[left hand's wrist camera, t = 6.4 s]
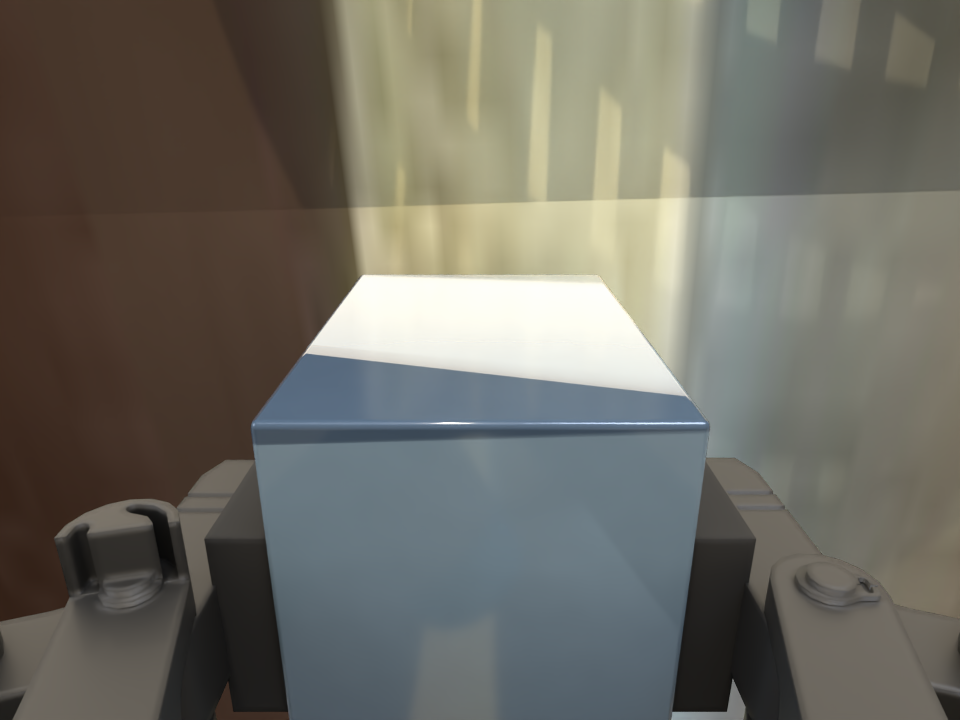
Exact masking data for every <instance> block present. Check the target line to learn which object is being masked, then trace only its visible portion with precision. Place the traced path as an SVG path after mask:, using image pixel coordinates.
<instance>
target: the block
mask: <svg viewBox="0 0 960 720" xmlns="http://www.w3.org/2000/svg"><path fill="white" fill-rule="evenodd" d="M709 432H710V425H709V421H708V420H707V419H706V417H705V416H704V415H703V413H702V412H701V411H700V409H699V408H698V407H697V405H696V404H695V403H694V401H693V400H692V399H691V397H690V396H689V395H688V393H687V392H686V391H685V389H684V388H683V387H682V385H681V384H680V383H679V381H678V380H677V379H676V377H675V376H674V375H673V373H672V372H671V371H670V369H669V368H668V367H667V365H666V364H665V363H664V361H663V360H662V359H661V357H660V356H659V355H658V353H657V352H656V351H655V349H654V348H653V347H652V345H651V344H650V343H649V341H648V340H647V339H646V337H645V336H644V335H643V333H642V332H641V331H640V329H639V328H638V326H637V325H636V324H635V322H634V321H633V320H632V318H631V317H630V316H629V314H628V313H627V312H626V310H625V309H624V308H623V306H622V305H621V304H620V302H619V301H618V300H617V298H616V297H615V296H614V294H613V293H612V292H611V290H610V289H609V288H608V286H607V285H606V284H605V282H604V281H603V280H602V278H601V277H600V276H598V275H362V276H360V277H359V279H358V280H357V282H356V283H355V284H354V286H353V287H352V288H351V290H350V291H349V292H348V294H347V295H346V296H345V298H344V299H343V300H342V302H341V303H340V304H339V306H338V307H337V308H336V310H335V311H334V312H333V314H332V315H331V316H330V318H329V319H328V320H327V322H326V323H325V324H324V326H323V327H322V328H321V330H320V331H319V332H318V334H317V335H316V337H315V338H314V339H313V341H312V342H311V343H310V345H309V346H308V347H307V349H306V350H305V351H304V353H303V354H302V355H301V357H300V358H299V359H298V361H297V362H296V363H295V365H294V366H293V367H292V369H291V370H290V371H289V373H288V374H287V375H286V377H285V378H284V379H283V381H282V382H281V383H280V385H279V386H278V387H277V389H276V390H275V392H274V393H273V394H272V396H271V397H270V398H269V400H268V401H267V402H266V404H265V405H264V406H263V408H262V409H261V410H260V412H259V413H258V414H257V416H256V417H255V418H254V420H253V421H252V424H251V434H252V442H253V449H254V457H255V464H256V472H257V479H258V487H259V494H260V502H261V509H262V517H263V525H264V532H265V540H266V547H267V555H268V562H269V570H270V577H271V585H272V592H273V600H274V608H275V615H276V623H277V630H278V638H279V645H280V653H281V660H282V668H283V675H284V683H285V690H286V698H287V706H288V713H289V720H671V717H672V710H673V702H674V695H675V687H676V680H677V672H678V665H679V657H680V650H681V642H682V635H683V627H684V620H685V612H686V605H687V597H688V590H689V582H690V575H691V567H692V560H693V552H694V545H695V537H696V529H697V522H698V514H699V507H700V499H701V492H702V484H703V477H704V469H705V462H706V454H707V447H708V439H709Z"/></svg>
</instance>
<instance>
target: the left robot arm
mask: <svg viewBox="0 0 960 720" xmlns="http://www.w3.org/2000/svg"><path fill="white" fill-rule="evenodd" d="M54 539H55V543H56V547H57V551H58V555H59V558H60V562H61V566H62V570H63V574H64V577H65V581H66V585H67V589H68V593H69V596H70V598H69V600H68V602H67V604H66V607H65V608H61V609H58V610H54V611H50V612H45V613H40V614H36V615H31V616H26V617H21V618H17V619H12V620H7V621H2V622H0V720H217V719H216V714H215V709H216V706H217V704H218V702H219V700H220V697H221V695H222V693H223V691H224V688H225V686H226V684H227V682H229V688H230V694H231V699H232V705H233V711H234V712H288V706H287V698H286V690H285V683H284V675H283V668H282V660H281V653H280V645H279V638H278V630H277V623H276V615H275V608H274V600H273V592H272V585H271V577H270V570H269V562H268V555H267V547H266V540H265V532H264V525H263V517H262V509H261V502H260V494H259V487H258V479H257V472H256V464H255V460H225V461H224V462H222V463H220V464H219V465H217V466H216V467H214V468H213V469H211V470H209V471H208V472H206V473H205V474H203V475H202V476H201V477H200V478H199V480H198V481H197V482H196V484H195V485H194V486H193V488H192V489H191V490H190V491H189V493H188V497H185V498H184V499H183V500H182V502H181V503H180V504H179V506H178V507H177V508H175V507H173V506H172V505H171V504H170V503H168V502H164V501H159V500H155V499H132V500H126V501H122V502H117V503H112V504H108V505H105V506H102V507H100V508H97V509H95V510H92V511H90V512H87V513H85V514H83V515H81V516H80V517H78V518H77V519H75V520H73V521H72V522H70V523H69V524H67V525H66V526H65V527H64V528H63V529H62V530H61V531H60V532H59V533H58V535H57V536H56V537H55V538H54ZM732 679H733V680H734V682H735V684H736V686H737V689H738V691H739V693H740V695H741V697H742V700H743V702H744V704H745V706H746V708H745V714H744V719H743V720H960V619H958V618H953V617H948V616H944V615H939V614H934V613H929V612H924V611H920V610H915V609H910V608H906V607H903V606H899V605H895V604H894V603H893V601H892V599H891V597H890V595H889V594H888V593H887V591H886V590H885V589H884V588H883V586H882V585H881V584H880V582H878V581H877V580H876V579H874V578H873V577H872V576H870V575H869V574H867V573H866V572H865V571H863V570H862V569H860V568H858V567H855V566H853V565H851V564H849V563H846V562H844V561H842V560H840V559H835V558H831V557H827V556H823V555H822V554H821V552H820V551H819V550H818V548H817V547H816V546H815V545H814V543H813V542H812V541H811V539H810V538H809V537H808V536H807V534H806V533H805V532H804V530H803V529H802V528H801V527H800V525H799V524H798V523H797V521H796V520H795V519H794V518H793V516H792V515H791V514H790V512H789V511H788V510H785V508H784V505H783V503H782V502H781V501H780V500H779V498H778V497H777V496H776V495H773V491H772V489H771V488H770V487H769V485H768V484H767V483H766V482H765V480H764V479H763V478H762V477H761V475H760V474H759V473H758V472H756V471H755V470H753V469H752V468H750V467H748V466H747V465H745V464H744V463H742V462H741V461H739V460H737V459H736V458H706V462H705V469H704V477H703V484H702V492H701V499H700V507H699V514H698V522H697V529H696V537H695V545H694V552H693V560H692V567H691V575H690V582H689V590H688V597H687V605H686V612H685V620H684V627H683V635H682V642H681V650H680V657H679V665H678V672H677V680H676V687H675V695H674V702H673V710H672V712H727V708H728V702H729V696H730V690H731V685H732Z"/></svg>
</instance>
